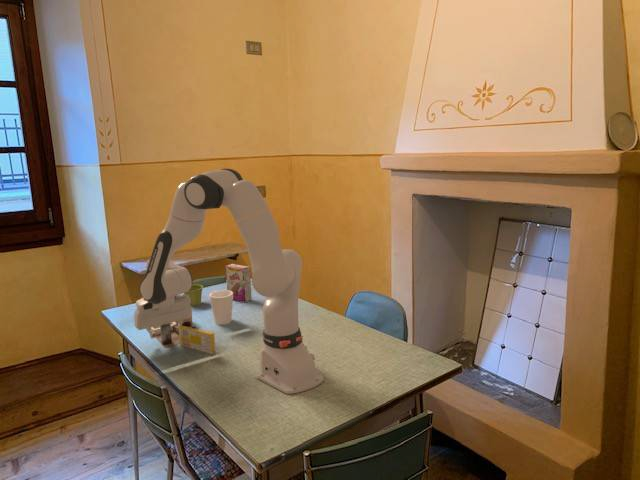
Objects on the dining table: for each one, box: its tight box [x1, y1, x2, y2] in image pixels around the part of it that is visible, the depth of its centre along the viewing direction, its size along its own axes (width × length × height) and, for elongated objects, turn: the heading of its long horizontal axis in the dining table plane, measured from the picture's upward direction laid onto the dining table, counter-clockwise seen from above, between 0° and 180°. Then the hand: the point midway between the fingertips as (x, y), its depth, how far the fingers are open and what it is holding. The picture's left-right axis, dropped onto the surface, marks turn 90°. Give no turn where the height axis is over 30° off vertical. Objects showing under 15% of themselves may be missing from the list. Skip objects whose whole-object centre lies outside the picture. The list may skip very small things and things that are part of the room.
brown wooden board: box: [155, 321, 199, 349], centre depth 184 cm, size 22×16×3 cm
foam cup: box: [208, 289, 234, 326], centre depth 192 cm, size 10×9×13 cm
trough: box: [150, 322, 177, 335], centre depth 187 cm, size 8×10×2 cm
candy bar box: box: [225, 263, 253, 304], centre depth 220 cm, size 11×5×16 cm, turn 58°
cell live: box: [160, 323, 172, 345], centre depth 174 cm, size 4×4×8 cm
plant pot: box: [183, 284, 204, 307], centre depth 215 cm, size 9×9×9 cm
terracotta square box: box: [176, 315, 194, 325], centre depth 191 cm, size 6×6×6 cm
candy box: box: [178, 325, 216, 357], centre depth 169 cm, size 16×2×8 cm, turn 60°
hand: (165, 334), depth 174 cm, fingers open, 8 cm apart
